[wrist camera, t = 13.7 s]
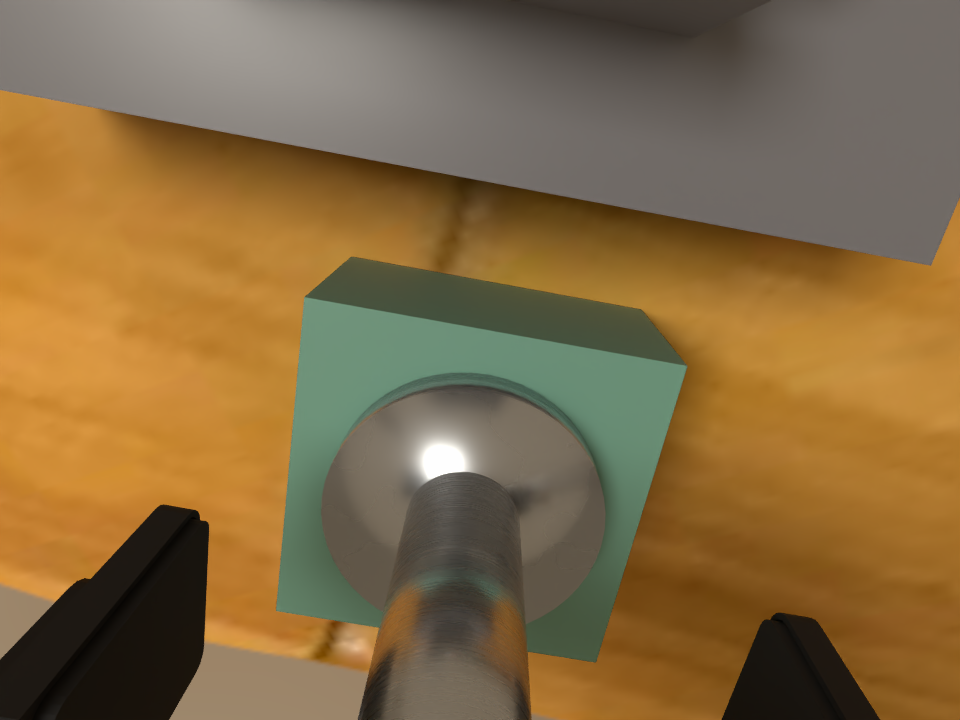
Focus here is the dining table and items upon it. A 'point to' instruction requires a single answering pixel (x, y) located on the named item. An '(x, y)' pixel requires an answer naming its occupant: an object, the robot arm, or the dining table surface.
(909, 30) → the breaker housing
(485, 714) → the metal knob
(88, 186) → the dining table surface
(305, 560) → the stylus holder
